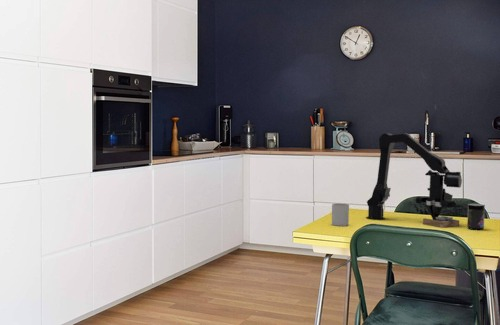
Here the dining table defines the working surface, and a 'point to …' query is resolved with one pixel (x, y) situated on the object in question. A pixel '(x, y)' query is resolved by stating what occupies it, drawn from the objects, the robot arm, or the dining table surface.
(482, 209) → the supplement container
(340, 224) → the cup
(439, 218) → the socket
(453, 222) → the dock
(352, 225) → the dining table surface
